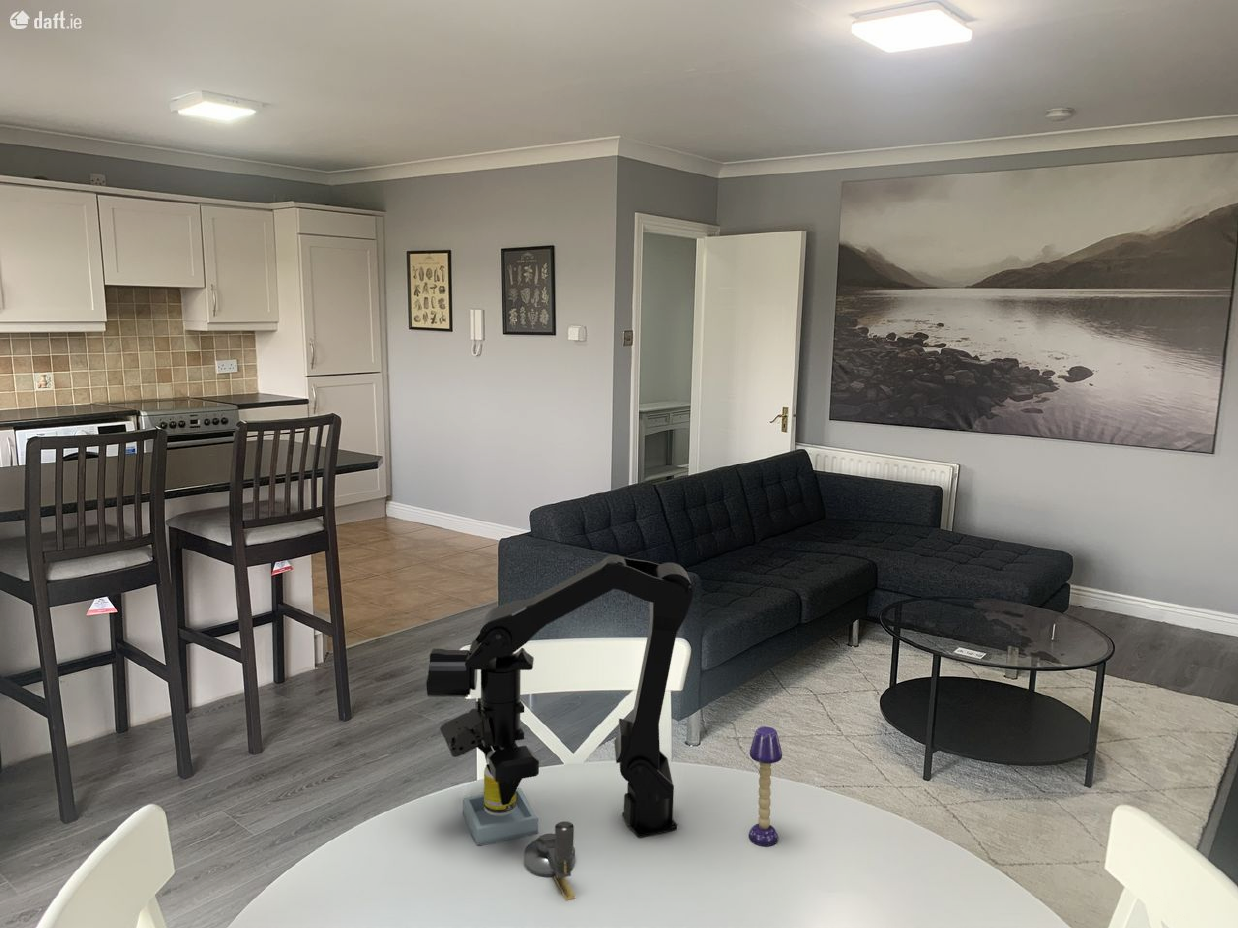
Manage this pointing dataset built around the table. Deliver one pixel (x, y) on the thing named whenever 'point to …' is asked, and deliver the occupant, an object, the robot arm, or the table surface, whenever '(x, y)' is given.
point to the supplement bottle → (495, 795)
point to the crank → (558, 848)
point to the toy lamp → (765, 782)
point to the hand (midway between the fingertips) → (500, 795)
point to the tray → (499, 820)
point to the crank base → (545, 868)
